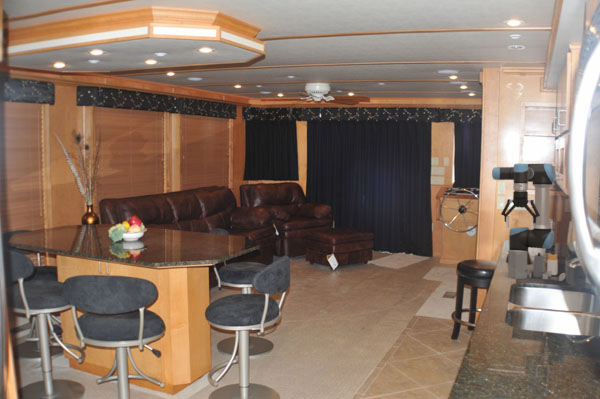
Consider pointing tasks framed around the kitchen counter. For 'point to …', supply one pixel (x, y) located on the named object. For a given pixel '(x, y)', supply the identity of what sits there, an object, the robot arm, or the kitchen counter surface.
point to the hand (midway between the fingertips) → (519, 228)
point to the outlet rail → (548, 276)
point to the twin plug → (538, 265)
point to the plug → (552, 263)
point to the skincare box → (517, 264)
